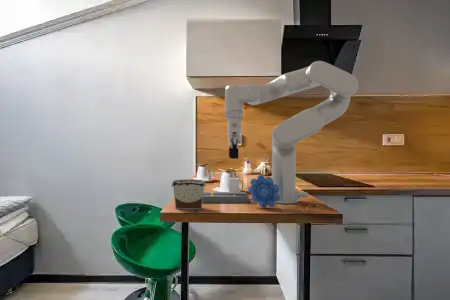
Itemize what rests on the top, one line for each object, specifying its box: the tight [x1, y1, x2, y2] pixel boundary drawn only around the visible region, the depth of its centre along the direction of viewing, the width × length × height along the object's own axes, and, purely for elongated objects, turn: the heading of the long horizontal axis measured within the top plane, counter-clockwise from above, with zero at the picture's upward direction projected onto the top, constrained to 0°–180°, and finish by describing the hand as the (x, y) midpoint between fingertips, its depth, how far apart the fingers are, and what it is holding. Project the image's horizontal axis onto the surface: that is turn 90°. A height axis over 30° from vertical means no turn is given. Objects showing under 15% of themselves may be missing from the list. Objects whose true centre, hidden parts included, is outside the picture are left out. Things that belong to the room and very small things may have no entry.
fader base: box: [202, 191, 249, 204], centre depth 145 cm, size 19×12×3 cm, turn 92°
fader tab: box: [228, 177, 240, 195], centre depth 145 cm, size 4×3×7 cm
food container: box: [171, 178, 207, 210], centre depth 130 cm, size 12×6×10 cm, turn 84°
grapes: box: [247, 174, 280, 209], centre depth 129 cm, size 12×7×12 cm, turn 86°
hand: (233, 157), depth 145 cm, fingers open, 9 cm apart
